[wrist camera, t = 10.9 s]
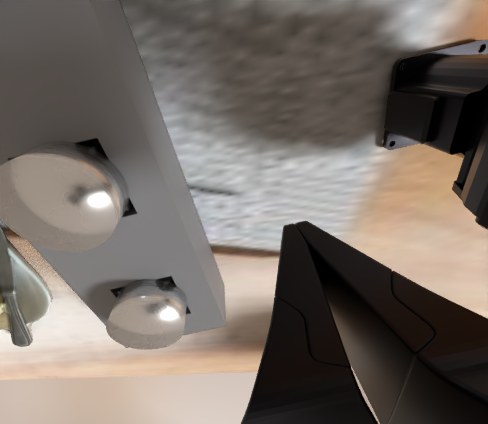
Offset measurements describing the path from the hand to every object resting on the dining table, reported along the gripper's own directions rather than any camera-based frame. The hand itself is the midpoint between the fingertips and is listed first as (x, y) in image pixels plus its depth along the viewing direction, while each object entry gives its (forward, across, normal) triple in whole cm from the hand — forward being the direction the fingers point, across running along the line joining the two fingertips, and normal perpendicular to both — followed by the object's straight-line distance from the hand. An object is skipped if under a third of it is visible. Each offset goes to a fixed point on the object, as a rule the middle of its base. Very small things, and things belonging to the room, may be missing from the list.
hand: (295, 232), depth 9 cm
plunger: (+11, +11, +10) cm, 19 cm away
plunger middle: (+12, +11, -1) cm, 16 cm away
